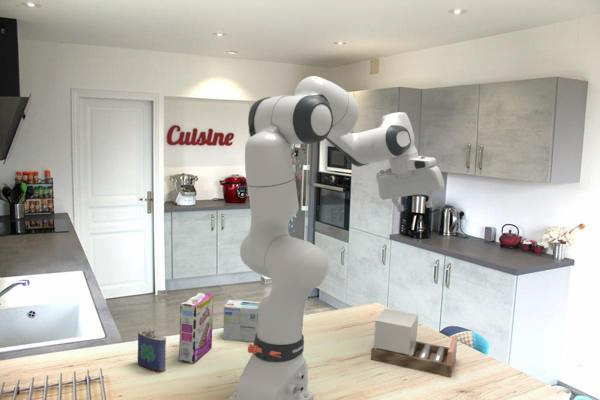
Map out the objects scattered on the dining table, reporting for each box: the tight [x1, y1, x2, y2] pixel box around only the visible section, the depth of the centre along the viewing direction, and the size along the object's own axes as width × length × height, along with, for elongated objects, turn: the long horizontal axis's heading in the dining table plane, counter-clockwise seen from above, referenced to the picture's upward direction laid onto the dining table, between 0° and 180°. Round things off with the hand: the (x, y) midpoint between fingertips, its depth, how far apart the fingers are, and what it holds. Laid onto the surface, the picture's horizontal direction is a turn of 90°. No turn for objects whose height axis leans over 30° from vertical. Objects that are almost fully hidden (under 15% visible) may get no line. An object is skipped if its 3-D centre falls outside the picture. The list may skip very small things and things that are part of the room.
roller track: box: [370, 335, 459, 378], centre depth 144 cm, size 22×12×7 cm, turn 66°
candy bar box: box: [178, 292, 214, 365], centre depth 140 cm, size 11×5×16 cm, turn 164°
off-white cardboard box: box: [373, 308, 419, 355], centre depth 145 cm, size 10×11×8 cm
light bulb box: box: [222, 299, 261, 343], centre depth 154 cm, size 11×7×11 cm, turn 84°
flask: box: [137, 328, 167, 373], centre depth 132 cm, size 9×3×11 cm, turn 61°
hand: (415, 209), depth 153 cm, fingers open, 8 cm apart
